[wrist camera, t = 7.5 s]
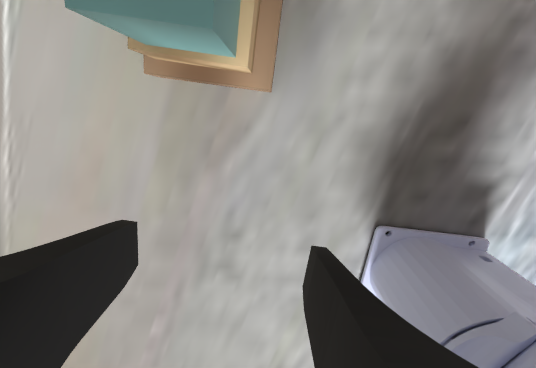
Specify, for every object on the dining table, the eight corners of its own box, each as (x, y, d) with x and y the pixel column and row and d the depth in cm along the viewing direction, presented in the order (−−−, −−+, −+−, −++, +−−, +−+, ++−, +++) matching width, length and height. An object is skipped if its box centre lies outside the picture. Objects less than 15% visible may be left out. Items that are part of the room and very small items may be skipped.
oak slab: (265, -45, 14) (264, -85, 11) (252, 73, 15) (247, 67, 13) (156, -63, 13) (124, -108, 11) (155, 59, 15) (128, 48, 12)
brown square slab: (287, -38, 16) (290, -69, 13) (271, 92, 19) (271, 90, 16) (164, -56, 16) (140, -91, 13) (164, 78, 18) (144, 73, 16)
